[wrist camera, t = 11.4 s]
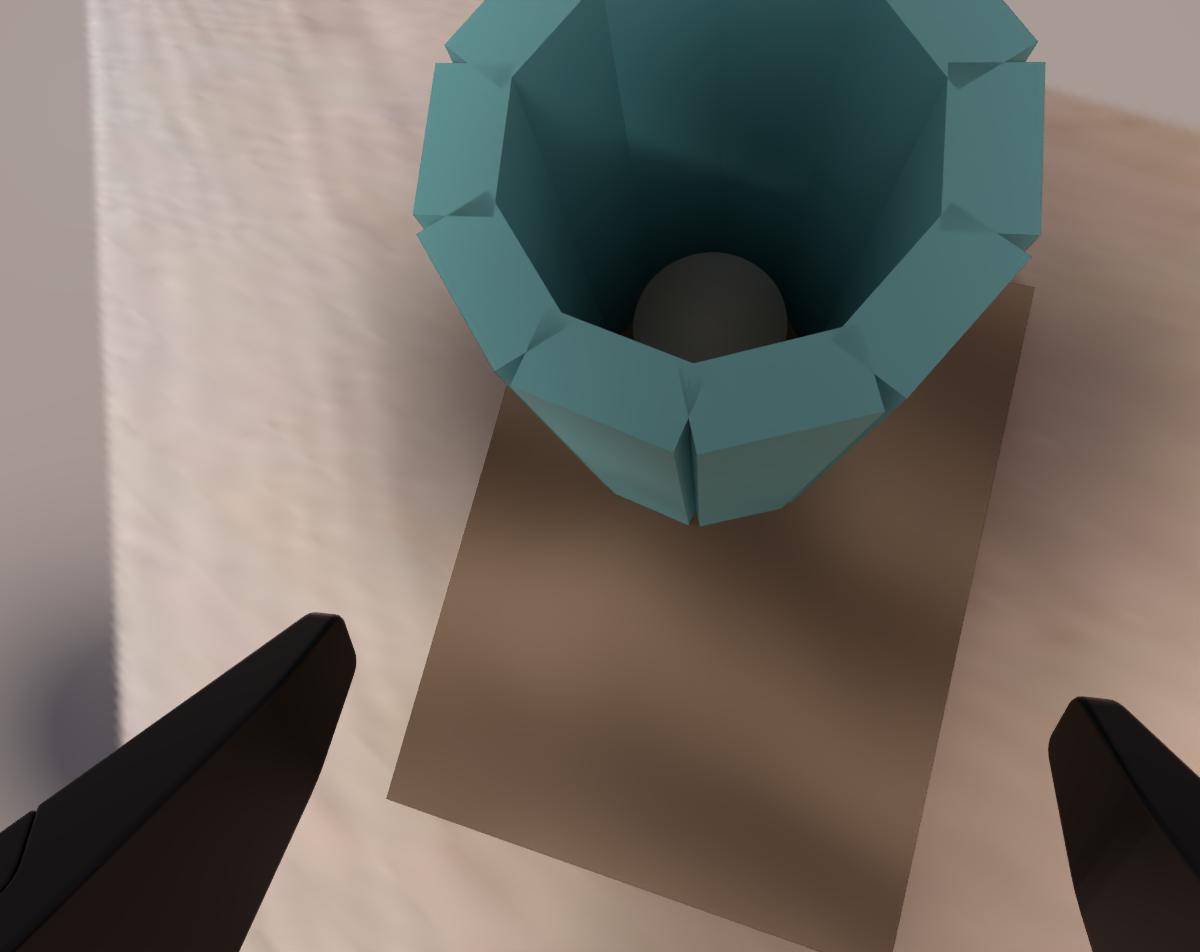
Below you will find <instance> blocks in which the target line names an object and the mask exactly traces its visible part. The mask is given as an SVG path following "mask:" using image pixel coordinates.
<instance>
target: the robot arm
mask: <svg viewBox="0 0 1200 952" xmlns="http://www.w3.org/2000/svg"><path fill="white" fill-rule="evenodd" d="M355 668H356V654H355V651H354V648H353V645H352V642H351V639H350V636H349V633H348V630H347V628H346V625H345V622H344V620H343V619H342V618H341V617H340V616H339V615H336V614H327V613H318V612H314V613H310V614H307V615H305V616H304V617H302V618H301V619H299V620H298V621H297V622H295V623H294V624H292V625H291V626H290V627H288V628H287V629H285V630H284V631H283V632H281V633H280V634H278V635H277V636H276V637H274V638H273V639H271V640H270V641H269V642H267V643H266V644H264V645H263V646H262V647H260V648H259V649H257V650H256V651H255V652H253V653H252V654H250V655H249V656H248V657H246V658H245V659H243V660H242V661H241V662H239V663H238V664H236V665H235V666H234V667H232V668H231V669H229V670H228V671H227V672H225V673H224V674H222V675H221V676H220V677H218V678H217V679H215V680H214V681H212V682H211V683H210V684H208V685H207V686H205V687H204V688H203V689H201V690H200V691H198V692H197V693H196V694H194V695H193V696H191V697H190V698H189V699H187V700H186V701H184V702H183V703H182V704H180V705H179V706H177V707H176V708H175V709H173V710H172V711H170V712H169V713H168V714H166V715H165V716H163V717H162V718H161V719H159V720H158V721H156V722H155V723H154V724H152V725H151V726H149V727H148V728H147V729H145V730H144V731H142V732H141V733H140V734H138V735H137V736H135V737H134V738H133V739H131V740H130V741H128V742H127V743H126V744H124V745H123V746H121V747H120V748H119V749H117V750H116V751H114V752H113V753H112V754H110V755H109V756H107V757H106V758H105V759H103V760H102V761H100V762H99V763H98V764H96V765H95V766H93V767H92V768H91V769H89V770H88V771H86V772H85V773H84V774H82V775H81V776H79V777H78V778H76V779H75V780H74V781H72V782H71V783H69V784H68V785H67V786H65V787H64V788H63V789H61V790H60V791H58V792H57V793H55V794H54V795H53V796H51V797H50V798H49V799H47V800H46V801H44V802H43V803H41V804H40V805H39V806H38V808H37V811H35V810H33V811H30V812H29V813H27V814H26V815H25V816H23V817H21V818H20V819H19V820H17V821H16V822H15V823H13V824H12V825H10V826H9V827H7V828H6V829H5V830H3V831H2V832H1V833H0V952H239V951H240V949H241V947H242V944H243V942H244V940H245V938H246V936H247V933H248V931H249V929H250V927H251V925H252V923H253V920H254V918H255V916H256V914H257V912H258V910H259V907H260V905H261V903H262V901H263V899H264V896H265V894H266V892H267V890H268V888H269V886H270V883H271V881H272V879H273V877H274V875H275V873H276V870H277V868H278V866H279V864H280V862H281V860H282V857H283V855H284V853H285V851H286V849H287V846H288V844H289V842H290V840H291V838H292V836H293V833H294V831H295V829H296V827H297V825H298V823H299V820H300V818H301V816H302V814H303V812H304V809H305V807H306V805H307V803H308V801H309V799H310V796H311V794H312V792H313V789H314V787H315V785H316V782H317V780H318V778H319V775H320V772H321V770H322V767H323V764H324V761H325V758H326V756H327V753H328V750H329V747H330V744H331V741H332V738H333V735H334V732H335V729H336V726H337V723H338V720H339V717H340V714H341V711H342V708H343V705H344V702H345V699H346V697H347V694H348V691H349V688H350V685H351V682H352V679H353V676H354V673H355ZM1048 753H1049V761H1050V766H1051V772H1052V777H1053V782H1054V788H1055V793H1056V798H1057V804H1058V809H1059V814H1060V819H1061V825H1062V830H1063V835H1064V841H1065V846H1066V851H1067V856H1068V862H1069V867H1070V872H1071V876H1072V881H1073V886H1074V890H1075V894H1076V897H1077V901H1078V905H1079V908H1080V912H1081V915H1082V918H1083V922H1084V925H1085V928H1086V932H1087V935H1088V938H1089V941H1090V945H1091V948H1092V951H1093V952H1200V777H1199V776H1198V775H1197V774H1195V773H1194V772H1193V771H1192V770H1191V769H1190V768H1189V767H1188V766H1187V765H1186V764H1185V763H1184V762H1183V761H1182V760H1180V759H1179V758H1178V757H1177V756H1176V755H1175V754H1174V753H1173V752H1172V751H1171V750H1170V749H1169V748H1168V747H1167V746H1166V745H1164V744H1163V743H1162V742H1161V741H1160V740H1159V739H1158V738H1157V737H1156V736H1155V735H1154V734H1153V733H1152V732H1151V731H1150V730H1148V729H1147V728H1146V727H1145V726H1144V725H1143V724H1142V723H1141V722H1140V721H1139V720H1138V719H1137V718H1136V717H1135V716H1134V715H1132V714H1131V713H1130V712H1129V711H1128V710H1127V709H1126V708H1125V707H1124V706H1122V705H1121V704H1119V703H1118V702H1116V701H1114V700H1109V699H1102V698H1093V697H1083V696H1081V697H1076V698H1075V699H1073V700H1072V701H1071V702H1070V703H1069V705H1068V707H1067V709H1066V710H1065V712H1064V714H1063V716H1062V717H1061V719H1060V721H1059V723H1058V724H1057V726H1056V728H1055V730H1054V731H1053V733H1052V735H1051V737H1050V741H1049V747H1048Z"/></svg>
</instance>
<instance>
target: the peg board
mask: <svg viewBox="0 0 1200 952" xmlns="http://www.w3.org/2000/svg"><path fill="white" fill-rule="evenodd" d="M1034 288H1035V287H1030V286H1025V285H1019V284H1014V283H1008V284H1007V286H1006V287H1005V288H1004V289H1003V290H1002V291H1001V292H1000V294H999V295H998V296H997V297H996V298H995V299H994V300H993V301H992V303H991V304H990V305H989V306H988V307H987V308H986V309H985V311H984V312H983V313H982V314H981V315H980V316H979V317H978V318H977V320H976V321H975V322H974V323H973V324H972V325H971V326H970V328H969V329H968V330H967V331H966V332H965V333H964V334H963V335H962V337H961V338H960V339H959V340H958V341H957V342H956V343H955V345H954V346H953V347H952V348H951V349H950V350H949V351H948V352H947V354H946V355H945V356H944V357H943V358H942V359H941V360H940V362H939V363H938V364H937V365H936V366H935V367H934V368H933V370H932V371H931V372H930V373H929V374H928V375H927V376H926V377H925V379H924V380H923V381H922V382H921V383H920V384H919V385H918V387H917V388H916V389H915V390H914V391H913V392H912V393H911V394H910V396H909V397H908V398H907V399H906V400H905V401H904V402H903V403H901V404H900V405H899V406H898V407H897V408H896V409H895V410H894V411H893V412H891V413H890V414H889V415H888V416H887V417H886V418H885V419H884V420H883V421H881V422H880V423H879V424H878V425H877V426H876V427H875V428H874V429H873V430H871V431H870V432H869V433H868V434H867V435H866V436H865V437H864V438H863V439H861V440H860V441H859V442H858V443H857V444H856V445H855V446H854V447H852V448H851V449H850V450H849V451H848V452H847V453H846V454H845V455H844V456H842V457H841V458H840V459H839V460H838V461H837V462H836V463H835V464H834V465H832V466H831V467H830V468H829V469H828V470H827V471H826V472H825V473H824V474H822V475H821V476H820V477H819V478H818V479H817V480H816V481H815V482H814V483H812V484H811V485H810V486H809V487H808V488H807V489H806V490H805V491H804V492H802V493H801V494H800V495H799V496H798V497H797V498H796V499H795V500H794V501H792V502H791V503H790V502H788V503H787V504H786V505H785V506H784V507H782V508H781V509H777V510H772V511H768V512H763V513H759V514H754V515H750V516H745V517H741V518H736V519H731V520H727V521H722V522H718V523H713V524H709V525H704V526H699V521H698V517H697V513H696V510H695V513H694V515H693V517H692V520H691V522H690V524H689V525H687V524H684V523H682V522H680V521H677V520H675V519H673V518H670V517H668V516H666V515H664V514H661V513H659V512H657V511H654V510H652V509H650V508H647V507H645V506H643V505H640V504H638V503H636V502H633V501H631V500H629V499H626V498H624V497H622V496H619V495H617V494H615V493H614V492H613V491H612V490H611V489H610V488H609V487H608V486H606V485H605V484H604V483H603V482H602V481H601V480H600V479H599V478H598V477H597V476H596V475H595V474H594V473H593V472H592V471H591V470H590V469H589V468H588V467H587V466H586V465H585V464H584V463H583V462H582V461H581V460H580V459H579V458H578V457H577V456H576V455H575V454H574V453H573V451H572V450H571V449H570V448H569V447H568V446H567V445H566V444H565V443H564V442H563V441H562V440H561V439H560V438H559V437H558V436H557V435H556V434H555V433H554V432H553V431H552V430H551V429H550V428H549V427H548V426H547V425H546V424H545V423H544V422H543V421H542V420H541V419H540V418H539V417H538V416H537V415H536V414H535V413H534V412H533V411H532V410H531V409H530V408H529V407H528V406H527V404H526V403H525V402H524V401H523V400H522V399H521V398H520V397H519V396H518V395H517V394H516V393H515V392H514V391H513V390H512V389H511V388H510V387H509V386H508V385H507V387H506V391H505V394H504V398H503V401H502V405H501V408H500V411H499V415H498V418H497V422H496V425H495V429H494V432H493V435H492V439H491V442H490V446H489V449H488V452H487V456H486V459H485V463H484V466H483V470H482V473H481V476H480V480H479V483H478V487H477V490H476V494H475V497H474V500H473V504H472V507H471V511H470V514H469V518H468V521H467V524H466V528H465V531H464V535H463V538H462V541H461V545H460V548H459V552H458V555H457V559H456V562H455V565H454V569H453V572H452V576H451V579H450V583H449V586H448V589H447V593H446V596H445V600H444V603H443V606H442V610H441V613H440V617H439V620H438V624H437V627H436V630H435V634H434V637H433V641H432V644H431V648H430V651H429V654H428V658H427V661H426V665H425V668H424V671H423V675H422V678H421V682H420V685H419V689H418V692H417V695H416V699H415V702H414V706H413V709H412V713H411V716H410V719H409V723H408V726H407V730H406V733H405V736H404V740H403V743H402V747H401V750H400V754H399V757H398V760H397V764H396V767H395V771H394V774H393V778H392V781H391V784H390V788H389V791H388V795H387V798H386V799H388V800H391V801H394V802H397V803H400V804H403V805H405V806H408V807H411V808H414V809H417V810H420V811H422V812H425V813H428V814H431V815H434V816H437V817H439V818H442V819H445V820H448V821H451V822H454V823H456V824H459V825H462V826H465V827H468V828H471V829H473V830H476V831H479V832H482V833H485V834H488V835H490V836H493V837H496V838H499V839H502V840H505V841H507V842H510V843H513V844H516V845H519V846H522V847H524V848H527V849H530V850H533V851H536V852H539V853H541V854H544V855H547V856H550V857H553V858H556V859H558V860H561V861H564V862H567V863H570V864H573V865H575V866H578V867H581V868H584V869H587V870H589V871H592V872H595V873H598V874H601V875H604V876H606V877H609V878H612V879H615V880H618V881H621V882H623V883H626V884H629V885H632V886H635V887H638V888H640V889H643V890H646V891H649V892H652V893H655V894H657V895H660V896H663V897H666V898H669V899H672V900H674V901H677V902H680V903H683V904H686V905H689V906H691V907H694V908H697V909H700V910H703V911H706V912H708V913H711V914H714V915H717V916H720V917H723V918H725V919H728V920H731V921H734V922H737V923H740V924H742V925H745V926H748V927H751V928H754V929H757V930H759V931H762V932H765V933H768V934H771V935H774V936H776V937H779V938H782V939H785V940H788V941H791V942H793V943H796V944H799V945H802V946H805V947H808V948H810V949H813V950H816V951H819V952H893V948H894V944H895V939H896V934H897V929H898V925H899V920H900V915H901V911H902V906H903V901H904V897H905V892H906V887H907V883H908V878H909V873H910V869H911V864H912V859H913V855H914V850H915V845H916V840H917V836H918V831H919V826H920V822H921V817H922V812H923V808H924V803H925V798H926V794H927V789H928V784H929V780H930V775H931V770H932V765H933V761H934V756H935V751H936V747H937V742H938V737H939V733H940V728H941V723H942V719H943V714H944V709H945V705H946V700H947V695H948V691H949V686H950V681H951V676H952V672H953V667H954V662H955V658H956V653H957V648H958V644H959V639H960V634H961V630H962V625H963V620H964V616H965V611H966V606H967V602H968V597H969V592H970V587H971V583H972V578H973V573H974V569H975V564H976V559H977V555H978V550H979V545H980V541H981V536H982V531H983V527H984V522H985V517H986V513H987V508H988V503H989V498H990V494H991V489H992V484H993V480H994V475H995V470H996V466H997V461H998V456H999V452H1000V447H1001V442H1002V438H1003V433H1004V428H1005V424H1006V419H1007V414H1008V409H1009V405H1010V400H1011V395H1012V391H1013V386H1014V381H1015V377H1016V372H1017V367H1018V363H1019V358H1020V353H1021V349H1022V344H1023V339H1024V335H1025V330H1026V325H1027V320H1028V316H1029V311H1030V306H1031V302H1032V297H1033V292H1034ZM621 336H624V337H626V338H629V339H631V340H634V341H637V342H639V343H642V344H644V345H647V346H650V347H652V348H655V349H657V350H660V351H663V352H665V353H668V354H670V355H673V356H676V357H678V358H681V359H683V360H686V361H689V362H691V363H697V362H701V361H706V360H710V359H714V358H718V357H722V356H726V355H730V354H734V353H738V352H742V351H747V350H751V349H755V348H759V347H763V346H767V345H771V344H775V343H779V342H784V341H788V340H792V339H796V338H799V336H798V335H797V333H796V332H795V331H794V329H793V328H792V326H791V325H790V323H789V322H788V320H787V312H786V308H785V303H784V300H783V298H782V296H781V293H780V291H779V290H778V288H777V286H776V285H775V283H774V282H773V281H772V279H771V278H770V277H769V276H768V275H767V274H766V273H765V272H764V271H763V270H762V269H760V268H759V267H758V266H756V265H755V264H753V263H751V262H749V261H748V260H746V259H743V258H741V257H738V256H735V255H731V254H726V253H719V252H707V253H698V254H694V255H690V256H687V257H684V258H681V259H679V260H677V261H675V262H673V263H671V264H669V265H668V266H666V267H665V268H664V269H662V270H661V271H660V272H659V273H658V274H656V275H655V276H654V277H653V279H652V280H651V281H650V282H649V283H648V285H647V286H646V288H645V289H644V290H643V292H642V294H641V296H640V298H639V300H638V303H637V306H636V309H635V314H634V319H633V322H632V323H631V324H630V325H629V326H628V327H627V329H626V330H625V331H624V332H623V333H622V334H621Z"/></svg>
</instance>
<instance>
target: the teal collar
mask: <svg viewBox="0 0 1200 952" xmlns="http://www.w3.org/2000/svg"><path fill="white" fill-rule="evenodd" d="M1037 42H1038V41H1037V40H1036V39H1035V38H1034V36H1033V35H1032V34H1031V33H1030V32H1029V31H1028V29H1027V28H1026V27H1025V26H1024V24H1023V23H1022V22H1021V21H1020V20H1019V19H1018V17H1017V16H1016V15H1015V14H1014V13H1013V11H1012V10H1011V9H1010V8H1009V7H1008V6H1007V4H1006V3H1005V2H1004V1H1003V0H485V1H484V2H483V3H482V4H481V5H480V6H479V7H478V9H477V10H476V11H475V12H474V13H473V14H472V15H471V16H470V17H469V18H468V20H467V21H466V22H465V23H464V24H463V25H462V26H461V27H460V28H459V29H458V31H457V32H456V33H455V34H454V35H453V36H452V37H451V38H450V39H449V41H448V42H447V43H446V44H445V47H446V49H447V51H448V53H449V55H450V58H451V60H452V62H453V63H436V64H435V70H434V77H433V84H432V90H431V97H430V104H429V110H428V117H427V124H426V131H425V137H424V144H423V151H422V157H421V164H420V171H419V177H418V184H417V191H416V197H415V204H414V211H413V215H414V217H415V218H416V219H417V220H418V222H419V223H420V224H421V226H422V227H423V228H424V230H423V231H421V232H419V233H418V234H417V236H418V238H419V240H420V242H421V243H422V245H423V247H424V249H425V250H426V252H427V254H428V256H429V257H430V259H431V261H432V263H433V264H434V266H435V268H436V270H437V272H438V273H439V275H440V277H441V279H442V280H443V282H444V284H445V286H446V287H447V289H448V291H449V293H450V294H451V296H452V298H453V300H454V302H455V303H456V305H457V307H458V309H459V310H460V312H461V314H462V316H463V317H464V319H465V321H466V323H467V324H468V326H469V328H470V330H471V332H472V333H473V335H474V337H475V339H476V340H477V342H478V344H479V346H480V347H481V349H482V351H483V353H484V354H485V356H486V358H487V360H488V362H489V363H490V365H491V367H492V369H493V370H494V372H495V373H496V374H497V375H498V376H499V377H500V378H501V379H502V380H503V381H504V382H505V383H506V384H507V385H508V386H509V387H510V388H511V389H512V390H513V391H514V392H515V393H516V394H517V395H518V396H519V397H520V398H521V399H522V400H523V401H524V402H525V403H526V404H527V406H528V407H529V408H530V409H531V410H532V411H533V412H534V413H535V414H536V415H537V416H538V417H539V418H540V419H541V420H542V421H543V422H544V423H545V424H546V425H547V426H548V427H549V428H550V429H551V430H552V431H553V432H554V433H555V434H556V435H557V436H558V437H559V438H560V439H561V440H562V441H563V442H564V443H565V444H566V445H567V446H568V447H569V448H570V449H571V450H572V451H573V453H574V454H575V455H576V456H577V457H578V458H579V459H580V460H581V461H582V462H583V463H584V464H585V465H586V466H587V467H588V468H589V469H590V470H591V471H592V472H593V473H594V474H595V475H596V476H597V477H598V478H599V479H600V480H601V481H602V482H603V483H604V484H605V485H606V486H608V487H609V488H610V489H611V490H612V491H613V492H614V493H615V494H617V495H619V496H622V497H624V498H626V499H629V500H631V501H633V502H636V503H638V504H640V505H643V506H645V507H647V508H650V509H652V510H654V511H657V512H659V513H661V514H664V515H666V516H668V517H670V518H673V519H675V520H677V521H680V522H682V523H684V524H687V525H689V524H690V522H691V520H692V517H693V515H694V513H695V510H696V513H697V517H698V521H699V526H704V525H709V524H713V523H718V522H722V521H727V520H731V519H736V518H741V517H745V516H750V515H754V514H759V513H763V512H768V511H772V510H777V509H781V508H782V507H784V506H785V505H786V504H787V503H788V502H790V503H791V502H792V501H794V500H795V499H796V498H797V497H798V496H799V495H800V494H801V493H802V492H804V491H805V490H806V489H807V488H808V487H809V486H810V485H811V484H812V483H814V482H815V481H816V480H817V479H818V478H819V477H820V476H821V475H822V474H824V473H825V472H826V471H827V470H828V469H829V468H830V467H831V466H832V465H834V464H835V463H836V462H837V461H838V460H839V459H840V458H841V457H842V456H844V455H845V454H846V453H847V452H848V451H849V450H850V449H851V448H852V447H854V446H855V445H856V444H857V443H858V442H859V441H860V440H861V439H863V438H864V437H865V436H866V435H867V434H868V433H869V432H870V431H871V430H873V429H874V428H875V427H876V426H877V425H878V424H879V423H880V422H881V421H883V420H884V419H885V418H886V417H887V416H888V415H889V414H890V413H891V412H893V411H894V410H895V409H896V408H897V407H898V406H899V405H900V404H901V403H903V402H904V401H905V400H906V399H907V398H908V397H909V396H910V394H911V393H912V392H913V391H914V390H915V389H916V388H917V387H918V385H919V384H920V383H921V382H922V381H923V380H924V379H925V377H926V376H927V375H928V374H929V373H930V372H931V371H932V370H933V368H934V367H935V366H936V365H937V364H938V363H939V362H940V360H941V359H942V358H943V357H944V356H945V355H946V354H947V352H948V351H949V350H950V349H951V348H952V347H953V346H954V345H955V343H956V342H957V341H958V340H959V339H960V338H961V337H962V335H963V334H964V333H965V332H966V331H967V330H968V329H969V328H970V326H971V325H972V324H973V323H974V322H975V321H976V320H977V318H978V317H979V316H980V315H981V314H982V313H983V312H984V311H985V309H986V308H987V307H988V306H989V305H990V304H991V303H992V301H993V300H994V299H995V298H996V297H997V296H998V295H999V294H1000V292H1001V291H1002V290H1003V289H1004V288H1005V287H1006V286H1007V284H1008V283H1009V282H1010V281H1011V280H1012V279H1013V278H1014V277H1015V275H1016V274H1017V273H1018V272H1019V271H1020V270H1021V269H1022V267H1023V266H1024V265H1025V264H1026V263H1027V262H1028V261H1029V259H1030V258H1031V256H1030V255H1028V254H1027V253H1026V252H1025V250H1026V249H1027V248H1028V247H1029V246H1030V245H1031V244H1032V243H1033V242H1034V241H1035V240H1036V239H1037V238H1038V237H1039V236H1040V235H1041V206H1042V168H1043V131H1044V93H1045V62H1026V60H1027V58H1028V57H1029V55H1030V54H1031V52H1032V50H1033V49H1034V47H1035V46H1036V44H1037ZM707 252H719V253H726V254H731V255H735V256H738V257H741V258H743V259H746V260H748V261H749V262H751V263H753V264H755V265H756V266H758V267H759V268H760V269H762V270H763V271H764V272H765V273H766V274H767V275H768V276H769V277H770V278H771V279H772V281H773V282H774V283H775V285H776V286H777V288H778V290H779V291H780V293H781V296H782V298H783V300H784V303H785V308H786V312H787V320H788V322H789V323H790V325H791V326H792V328H793V329H794V331H795V332H796V333H797V335H798V336H799V338H796V339H792V340H788V341H784V342H779V343H775V344H771V345H767V346H763V347H759V348H755V349H751V350H747V351H742V352H738V353H734V354H730V355H726V356H722V357H718V358H714V359H710V360H706V361H701V362H697V363H691V362H689V361H686V360H683V359H681V358H678V357H676V356H673V355H670V354H668V353H665V352H663V351H660V350H657V349H655V348H652V347H650V346H647V345H644V344H642V343H639V342H637V341H634V340H631V339H629V338H626V337H624V336H621V334H622V333H623V332H624V331H625V330H626V329H627V327H628V326H629V325H630V324H631V323H632V322H633V319H634V314H635V309H636V306H637V303H638V300H639V298H640V296H641V294H642V292H643V290H644V289H645V288H646V286H647V285H648V283H649V282H650V281H651V280H652V279H653V277H654V276H655V275H656V274H658V273H659V272H660V271H661V270H662V269H664V268H665V267H666V266H668V265H669V264H671V263H673V262H675V261H677V260H679V259H681V258H684V257H687V256H690V255H694V254H698V253H707Z"/></svg>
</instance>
